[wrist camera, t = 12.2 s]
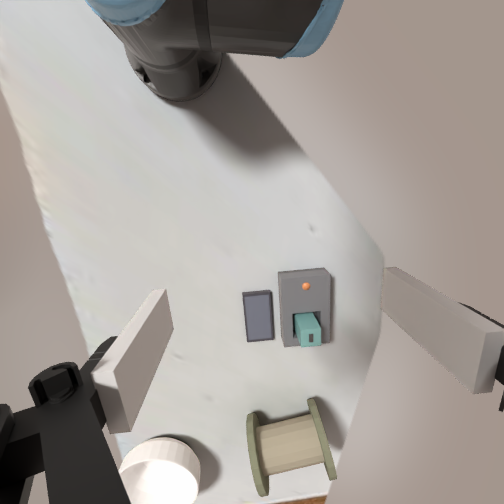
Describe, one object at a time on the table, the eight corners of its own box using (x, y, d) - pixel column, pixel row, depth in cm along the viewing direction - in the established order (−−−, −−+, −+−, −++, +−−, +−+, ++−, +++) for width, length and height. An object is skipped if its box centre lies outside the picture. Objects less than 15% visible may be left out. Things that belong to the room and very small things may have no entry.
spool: (259, 442, 68) (265, 513, 54) (245, 400, 64) (247, 465, 50) (319, 427, 68) (341, 495, 54) (309, 384, 64) (330, 445, 49)
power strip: (277, 271, 54) (281, 279, 50) (324, 267, 55) (330, 274, 51) (281, 336, 59) (284, 347, 55) (323, 331, 59) (330, 343, 55)
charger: (293, 311, 56) (300, 330, 49) (311, 309, 56) (321, 328, 49) (293, 327, 57) (301, 348, 50) (311, 325, 57) (321, 345, 51)
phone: (247, 339, 59) (247, 342, 58) (242, 292, 55) (242, 294, 54) (272, 336, 59) (273, 339, 58) (269, 289, 55) (270, 292, 54)
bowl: (207, 474, 71) (203, 512, 63) (136, 482, 70) (123, 522, 62) (197, 420, 65) (192, 455, 57) (120, 428, 64) (103, 465, 56)
